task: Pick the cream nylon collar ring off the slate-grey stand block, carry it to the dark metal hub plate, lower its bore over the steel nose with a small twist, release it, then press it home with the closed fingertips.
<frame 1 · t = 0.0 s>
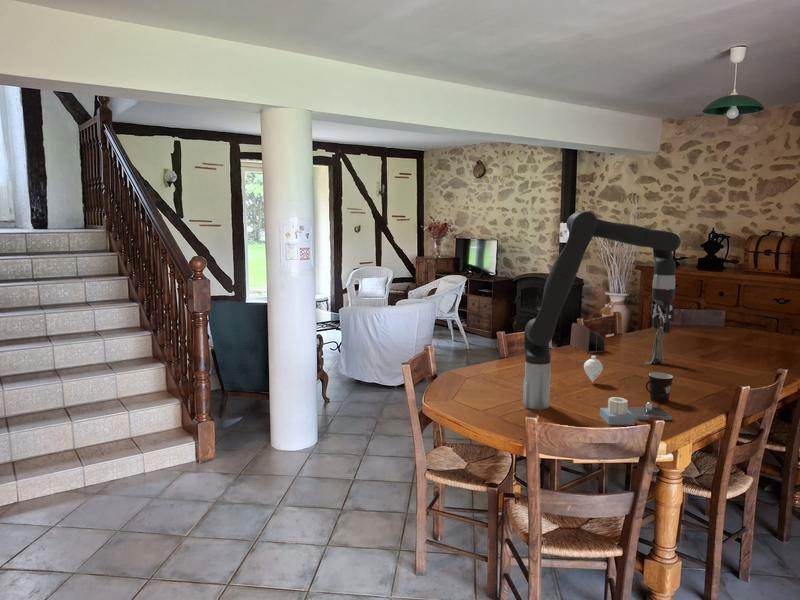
hand: (660, 330, 209), 29 cm above the table, fingers open, 8 cm apart
collar ring: (617, 412, 198), point 3 cm above the table, touching stand block
stand block: (616, 420, 199), on the table
wizard figurine: (655, 363, 280), on the table
letter holder: (586, 349, 312), on the table
hub: (648, 415, 203), on the table
spinning top: (592, 383, 245), on the table
coffee mug: (655, 401, 221), on the table
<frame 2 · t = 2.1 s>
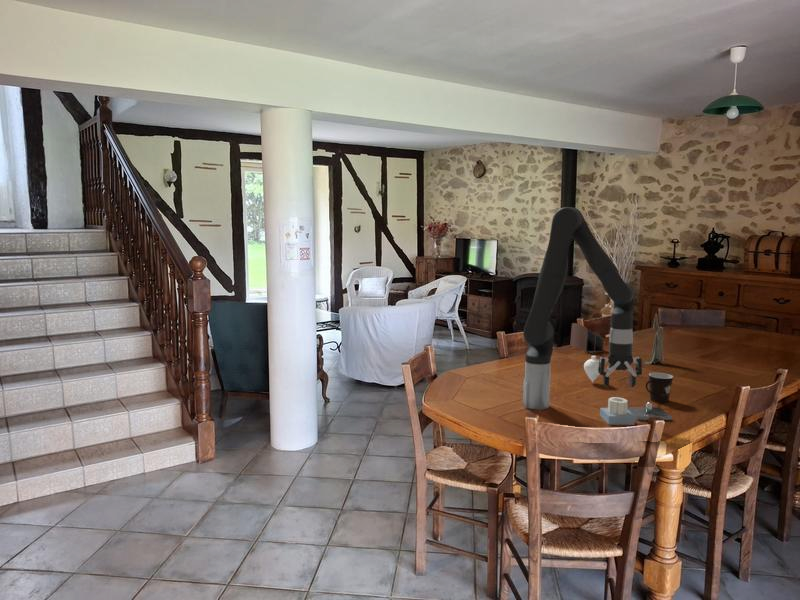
hand: (619, 386, 197), 12 cm above the table, fingers open, 8 cm apart
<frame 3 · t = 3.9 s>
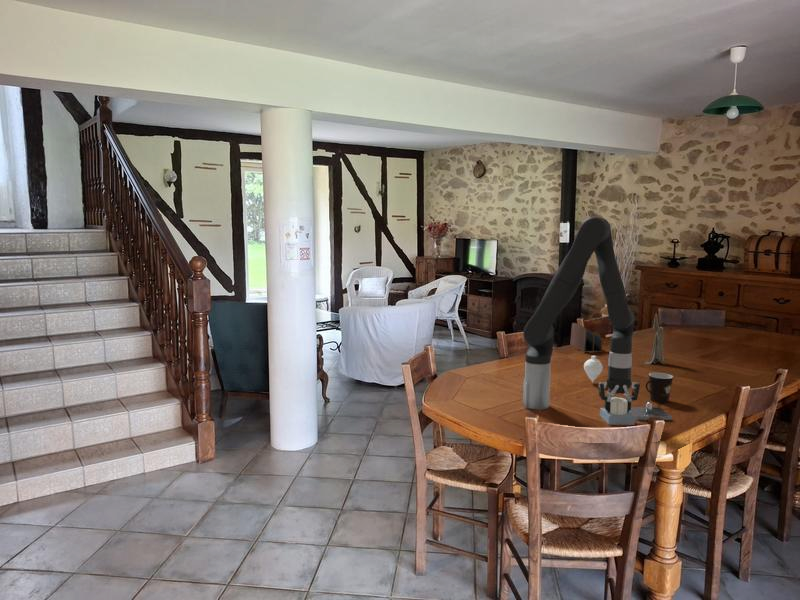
hand: (617, 411, 198), 3 cm above the table, fingers closed on collar ring, 6 cm apart
collar ring: (617, 412, 198), point 3 cm above the table, touching gripper, stand block
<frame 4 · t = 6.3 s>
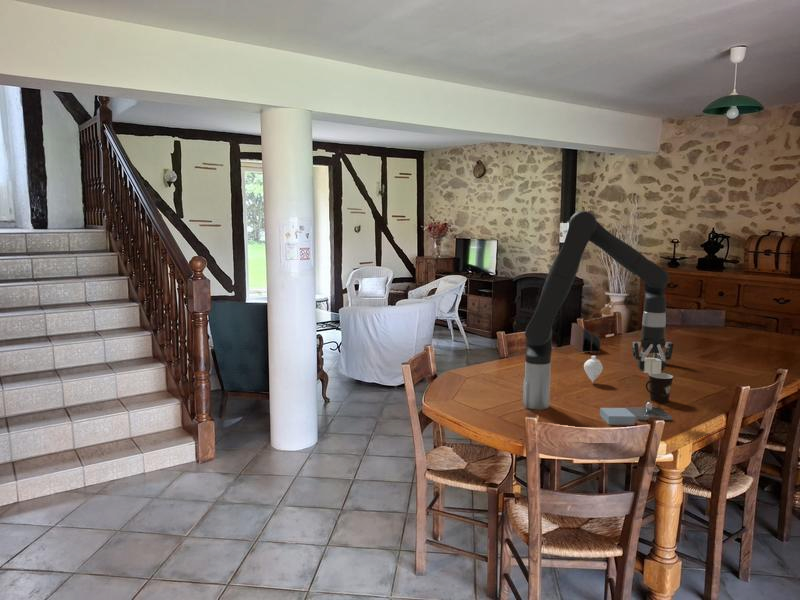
hand: (651, 370, 201), 17 cm above the table, fingers closed on collar ring, 6 cm apart
collar ring: (651, 371, 201), point 16 cm above the table, touching gripper
when the fingers open (3 cm above the table, at t = 8.9 s): collar ring drops 1 cm, resting on hub.
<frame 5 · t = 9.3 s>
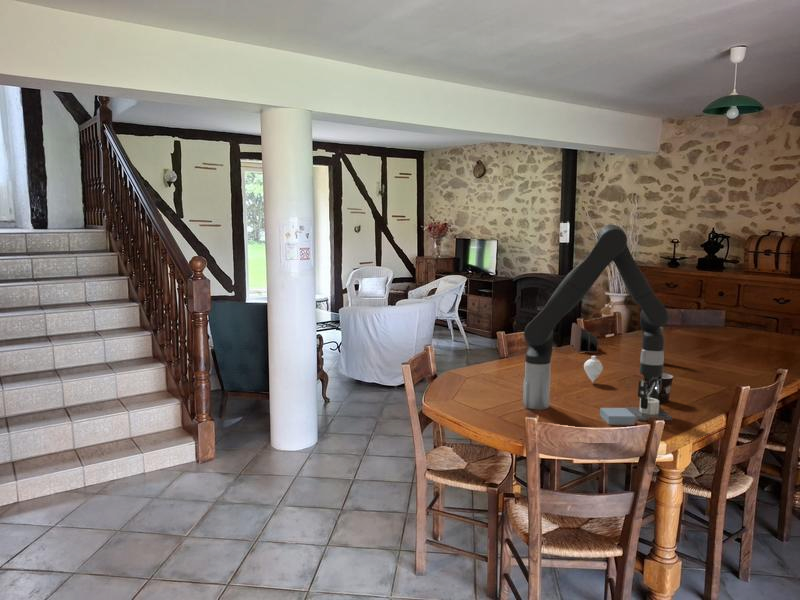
hand: (649, 405, 203), 4 cm above the table, fingers open, 8 cm apart
collar ring: (648, 411, 203), point 1 cm above the table, touching hub
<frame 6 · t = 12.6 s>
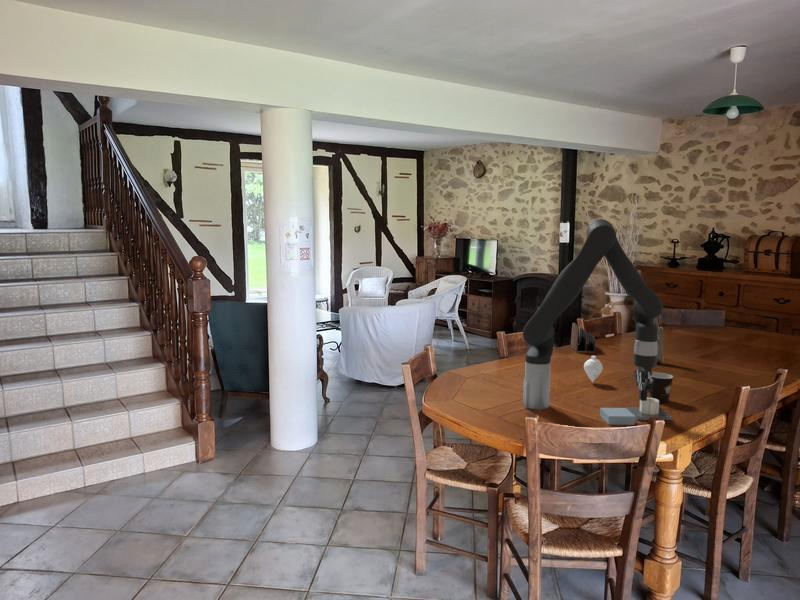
hand: (642, 399, 203), 6 cm above the table, fingers closed
collar ring: (648, 411, 203), point 1 cm above the table, touching gripper, hub
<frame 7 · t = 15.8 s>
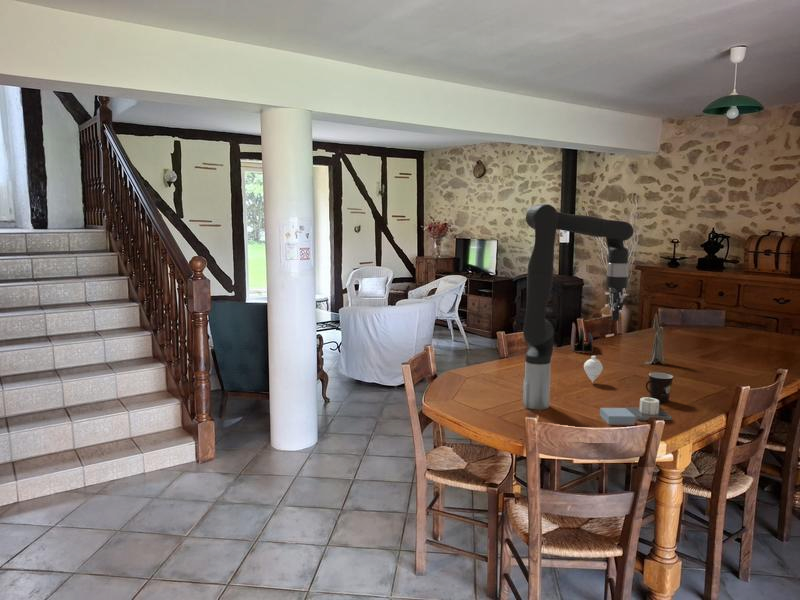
hand: (614, 320, 215), 32 cm above the table, fingers closed
collar ring: (648, 411, 203), point 1 cm above the table, touching hub
at the end: collar ring 0.0 cm off-centre on the hub, point 1.5 cm above the hub's base; the gripper is holding nothing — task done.
